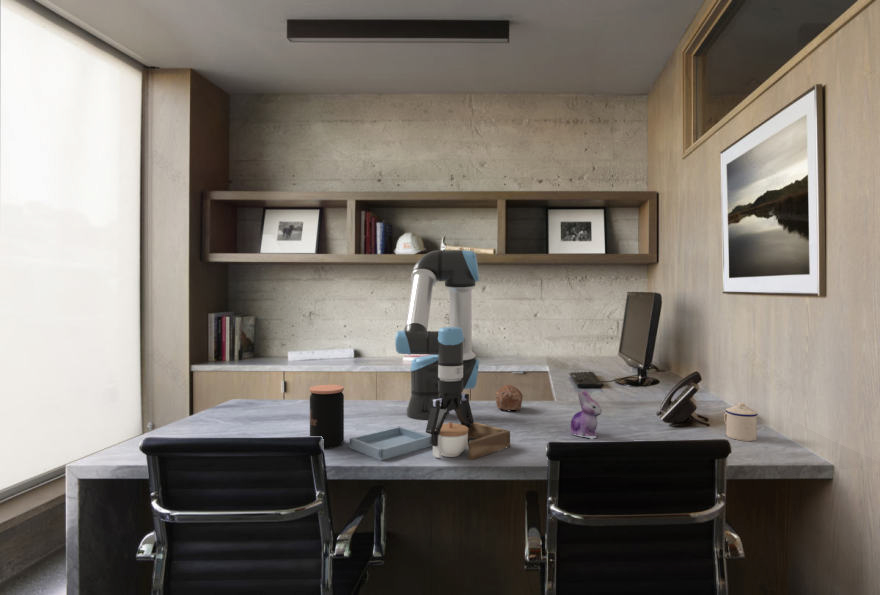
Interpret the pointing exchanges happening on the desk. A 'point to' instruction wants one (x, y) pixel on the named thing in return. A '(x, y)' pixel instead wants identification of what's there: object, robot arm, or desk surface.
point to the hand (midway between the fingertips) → (450, 452)
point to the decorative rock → (509, 398)
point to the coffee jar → (327, 414)
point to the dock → (486, 440)
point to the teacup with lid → (741, 422)
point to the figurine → (586, 416)
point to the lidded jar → (453, 439)
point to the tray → (390, 442)
